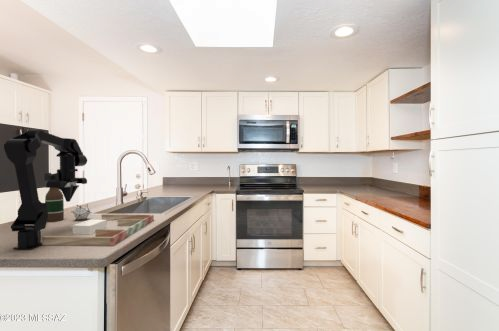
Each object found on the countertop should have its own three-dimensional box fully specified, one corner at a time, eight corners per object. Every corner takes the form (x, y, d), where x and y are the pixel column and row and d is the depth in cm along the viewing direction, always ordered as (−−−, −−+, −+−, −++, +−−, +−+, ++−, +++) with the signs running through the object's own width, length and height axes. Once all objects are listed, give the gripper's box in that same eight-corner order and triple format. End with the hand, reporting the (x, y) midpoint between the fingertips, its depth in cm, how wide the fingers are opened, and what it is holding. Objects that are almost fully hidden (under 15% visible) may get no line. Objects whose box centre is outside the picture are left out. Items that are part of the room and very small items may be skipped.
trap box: (113, 245, 99) (112, 237, 99) (41, 244, 100) (41, 237, 100) (153, 220, 139) (153, 214, 139) (102, 219, 140) (102, 214, 140)
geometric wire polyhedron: (82, 227, 139) (79, 214, 133) (69, 221, 140) (65, 208, 134) (96, 216, 146) (93, 203, 140) (84, 210, 147) (80, 197, 141)
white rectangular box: (89, 235, 114) (89, 226, 114) (72, 234, 115) (72, 225, 115) (106, 228, 125) (106, 219, 125) (91, 227, 126) (90, 219, 126)
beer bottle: (47, 219, 140) (46, 174, 140) (65, 218, 144) (64, 173, 143) (43, 222, 133) (42, 174, 132) (62, 221, 136) (61, 174, 136)
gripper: (64, 166, 129) (65, 198, 129) (32, 167, 110) (33, 205, 110) (87, 166, 128) (87, 198, 129) (59, 167, 110) (59, 205, 110)
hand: (68, 201), depth 120 cm, fingers closed
